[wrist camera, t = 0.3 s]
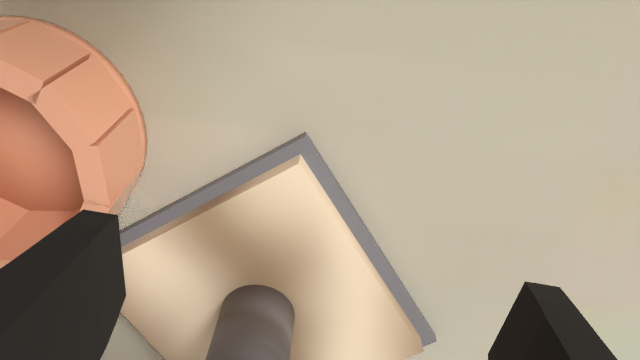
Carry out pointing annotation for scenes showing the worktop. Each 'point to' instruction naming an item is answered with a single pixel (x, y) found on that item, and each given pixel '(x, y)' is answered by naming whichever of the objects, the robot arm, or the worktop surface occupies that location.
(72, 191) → the bowl
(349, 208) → the mat
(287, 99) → the worktop surface
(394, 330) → the lid
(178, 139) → the worktop surface
